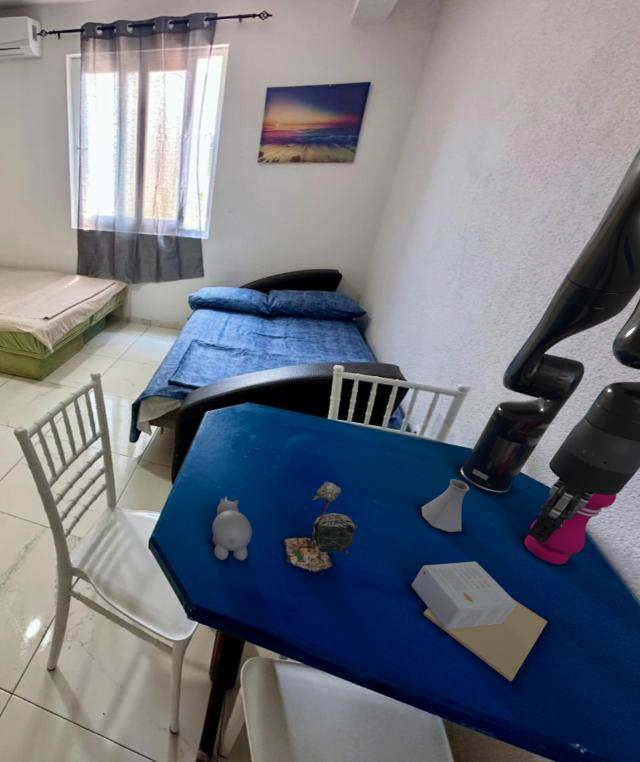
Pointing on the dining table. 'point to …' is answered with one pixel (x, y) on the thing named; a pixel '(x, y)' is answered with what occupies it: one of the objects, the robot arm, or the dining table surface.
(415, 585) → the small box
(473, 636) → the mat
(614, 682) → the dining table surface
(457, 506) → the flask
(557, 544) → the pepper mill
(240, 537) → the round bodied animal figurine
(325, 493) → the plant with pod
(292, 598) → the dining table surface
